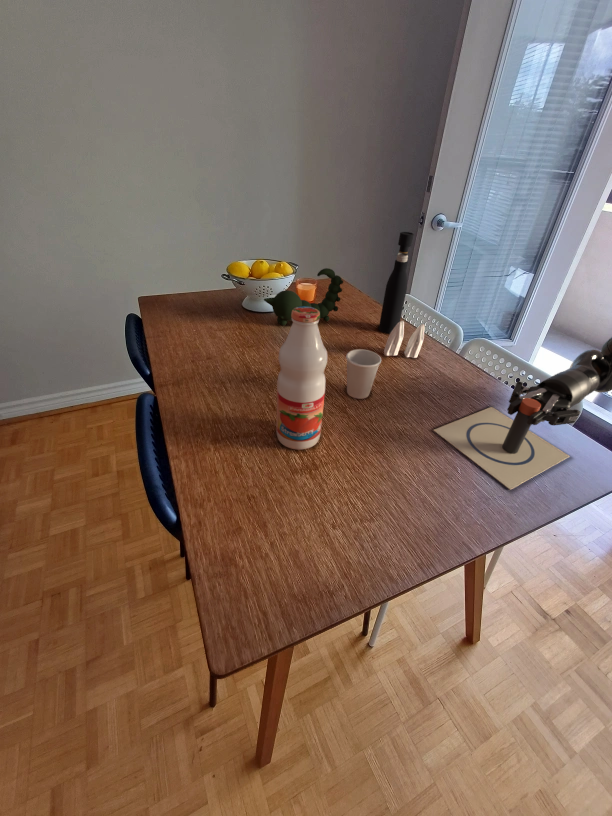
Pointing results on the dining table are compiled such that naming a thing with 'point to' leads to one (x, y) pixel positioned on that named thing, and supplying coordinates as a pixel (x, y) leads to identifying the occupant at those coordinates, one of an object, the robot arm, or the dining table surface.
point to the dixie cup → (361, 372)
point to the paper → (500, 447)
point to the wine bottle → (396, 287)
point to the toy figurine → (290, 300)
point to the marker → (520, 425)
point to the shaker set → (397, 337)
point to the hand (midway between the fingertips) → (520, 415)
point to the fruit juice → (301, 381)
